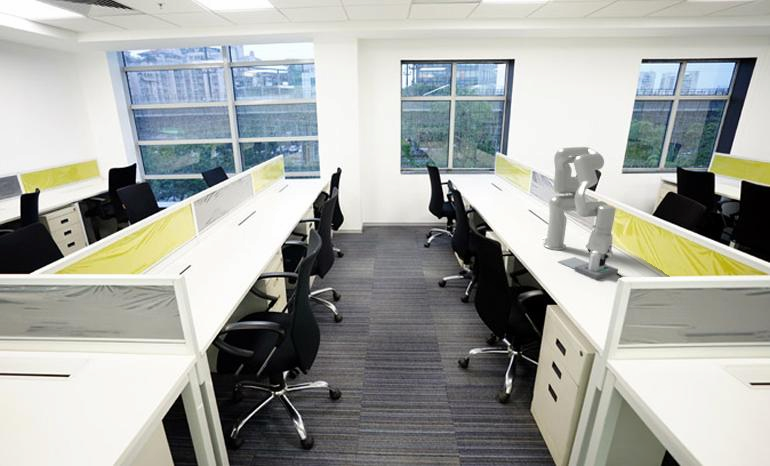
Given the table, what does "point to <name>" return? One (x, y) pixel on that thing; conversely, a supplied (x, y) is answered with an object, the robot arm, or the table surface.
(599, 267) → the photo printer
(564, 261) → the rubber mat
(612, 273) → the charging dock
